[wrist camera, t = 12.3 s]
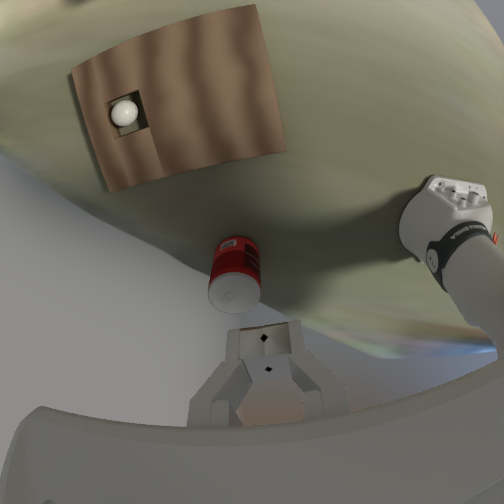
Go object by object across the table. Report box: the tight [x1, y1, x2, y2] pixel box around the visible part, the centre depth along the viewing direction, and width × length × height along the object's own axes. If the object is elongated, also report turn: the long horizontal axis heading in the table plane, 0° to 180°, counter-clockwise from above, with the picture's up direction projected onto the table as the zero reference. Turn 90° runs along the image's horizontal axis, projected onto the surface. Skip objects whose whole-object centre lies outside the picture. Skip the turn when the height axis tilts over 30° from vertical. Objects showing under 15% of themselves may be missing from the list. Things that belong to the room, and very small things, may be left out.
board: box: [71, 4, 286, 193], centre depth 35 cm, size 28×22×2 cm
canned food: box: [208, 236, 261, 314], centre depth 46 cm, size 8×8×11 cm
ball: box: [111, 100, 138, 126], centre depth 35 cm, size 4×4×4 cm
